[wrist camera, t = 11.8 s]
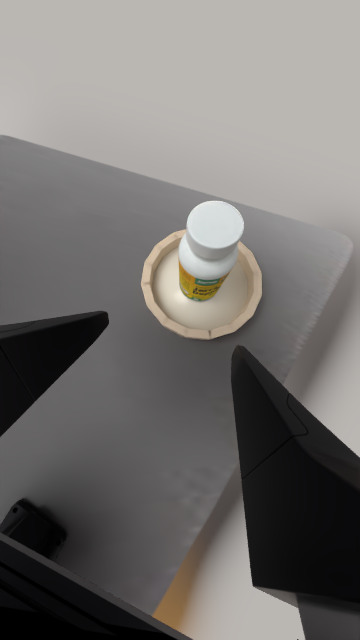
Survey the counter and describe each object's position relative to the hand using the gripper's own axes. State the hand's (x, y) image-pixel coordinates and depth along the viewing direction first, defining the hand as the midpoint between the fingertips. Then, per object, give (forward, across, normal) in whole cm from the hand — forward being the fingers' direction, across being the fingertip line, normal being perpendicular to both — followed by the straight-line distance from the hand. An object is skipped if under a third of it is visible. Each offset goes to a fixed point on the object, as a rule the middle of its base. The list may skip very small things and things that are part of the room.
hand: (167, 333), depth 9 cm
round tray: (+12, -1, 0) cm, 12 cm away
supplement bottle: (+12, -1, -1) cm, 12 cm away
